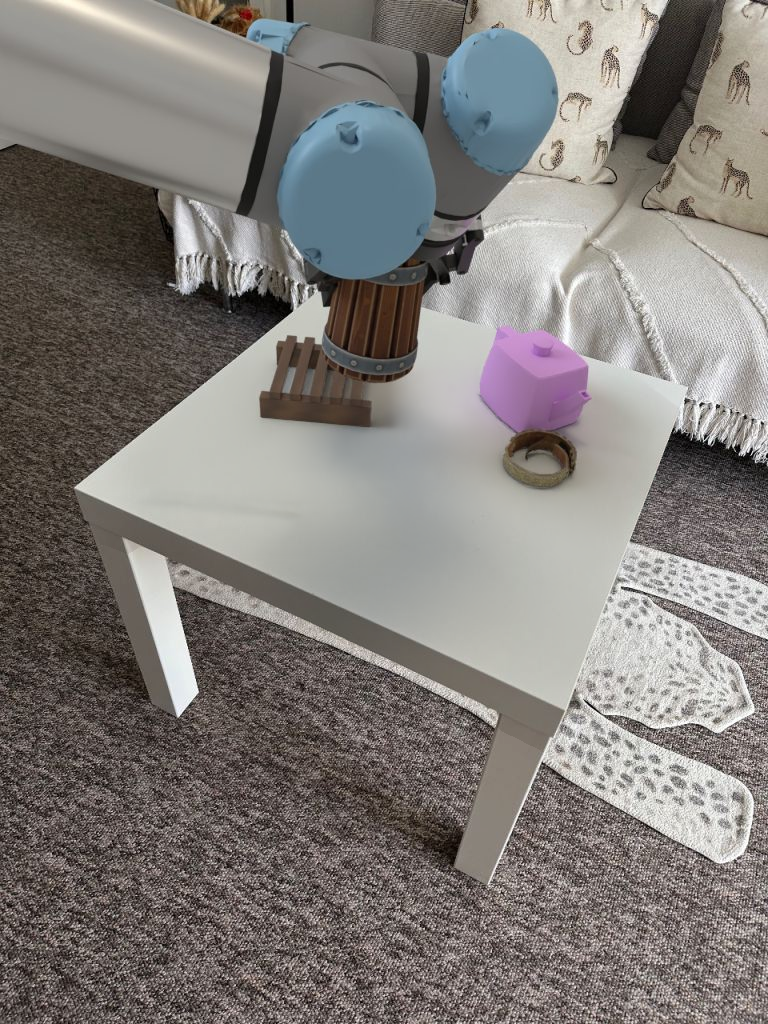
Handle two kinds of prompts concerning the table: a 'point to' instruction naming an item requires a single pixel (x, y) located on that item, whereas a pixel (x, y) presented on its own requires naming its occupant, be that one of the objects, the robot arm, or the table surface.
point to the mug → (376, 324)
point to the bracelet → (536, 441)
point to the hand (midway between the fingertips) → (370, 291)
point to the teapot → (534, 380)
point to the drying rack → (312, 389)
